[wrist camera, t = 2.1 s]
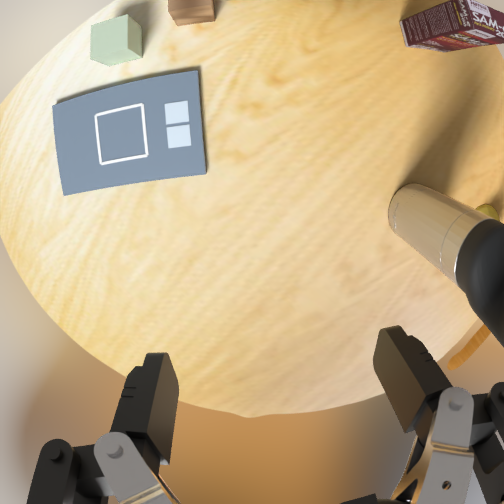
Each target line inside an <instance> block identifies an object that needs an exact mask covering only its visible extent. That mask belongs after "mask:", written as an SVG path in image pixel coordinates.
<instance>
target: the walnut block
mask: <svg viewBox="0 0 504 504" xmlns="http://www.w3.org/2000/svg"><path fill="white" fill-rule="evenodd" d="M168 12H169V13H170V15H171V16H172V18H173V20H174V21H175V23H176V25H177V26H182V25H188V24H195V23H203V22H212V21H215V15H214V0H168Z"/></svg>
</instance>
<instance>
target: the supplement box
mask: <svg viewBox="0 0 504 504" xmlns="http://www.w3.org/2000/svg"><path fill="white" fill-rule="evenodd" d="M400 26H401V29H402V33H403V37H404V41H405V45H406V47H412V48H421V49H429V50H435V51H440V52H449V51H454V50H460V49H466V48H472V47H478V46H485V45H493V44H502V43H504V13H502V12H500V11H497V10H494V9H492V8H490V7H488V6H486V5H484V4H481V3H479V2H477V1H474V0H450V1H447V2H445V3H442V4H440V5H437V6H435V7H432V8H430V9H427V10H425V11H422V12H420V13H418V14H416V15H413V16H411V17H409V18H406V19H404V20H402V21H400Z"/></svg>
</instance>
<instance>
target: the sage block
mask: <svg viewBox="0 0 504 504" xmlns="http://www.w3.org/2000/svg"><path fill="white" fill-rule="evenodd" d="M140 58H142V27H141V26H140V25H139V24H138V23H137V22H136V21H135V20H134V19H132V18H131V17H130V16H129V15H128V14H126V15H123V16H119V17H116V18H113V19H109V20H106V21H103V22H100V23H97V24H94V25H92V26H91V60H94V61H97V62H99V63H102V64H104V65H107V66H112V65H116V64H120V63H123V62H127V61H131V60H136V59H140Z"/></svg>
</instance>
